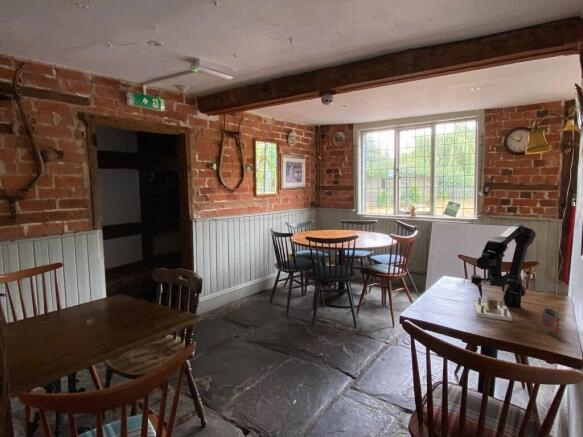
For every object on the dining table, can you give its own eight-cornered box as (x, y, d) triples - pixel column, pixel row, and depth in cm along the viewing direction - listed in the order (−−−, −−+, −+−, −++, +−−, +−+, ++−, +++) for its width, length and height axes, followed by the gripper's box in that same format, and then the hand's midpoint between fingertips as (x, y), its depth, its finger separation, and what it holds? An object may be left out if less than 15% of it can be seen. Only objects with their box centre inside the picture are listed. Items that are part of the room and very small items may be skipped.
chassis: (505, 308, 171) (506, 299, 171) (511, 321, 157) (512, 311, 156) (473, 304, 177) (474, 296, 176) (476, 316, 162) (477, 306, 162)
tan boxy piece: (497, 307, 170) (498, 296, 169) (500, 313, 161) (501, 302, 161) (483, 305, 172) (484, 295, 171) (485, 311, 164) (486, 300, 163)
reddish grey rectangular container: (537, 328, 150) (539, 305, 149) (544, 327, 150) (547, 305, 149) (553, 336, 142) (555, 312, 141) (560, 336, 142) (563, 312, 141)
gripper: (473, 268, 160) (471, 301, 162) (522, 273, 153) (519, 307, 155) (471, 263, 171) (469, 294, 172) (516, 267, 164) (514, 299, 165)
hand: (492, 299), depth 166 cm, fingers open, 9 cm apart
